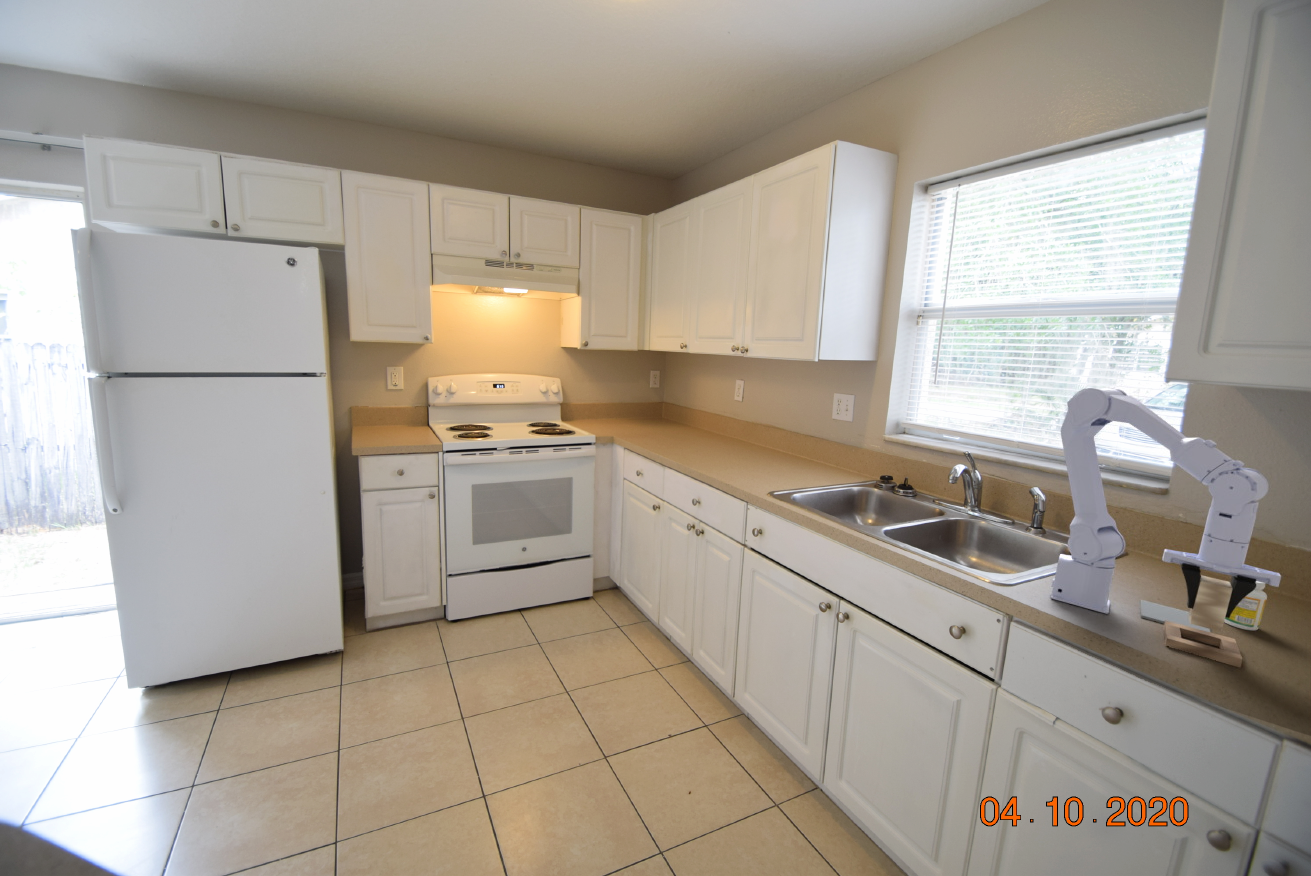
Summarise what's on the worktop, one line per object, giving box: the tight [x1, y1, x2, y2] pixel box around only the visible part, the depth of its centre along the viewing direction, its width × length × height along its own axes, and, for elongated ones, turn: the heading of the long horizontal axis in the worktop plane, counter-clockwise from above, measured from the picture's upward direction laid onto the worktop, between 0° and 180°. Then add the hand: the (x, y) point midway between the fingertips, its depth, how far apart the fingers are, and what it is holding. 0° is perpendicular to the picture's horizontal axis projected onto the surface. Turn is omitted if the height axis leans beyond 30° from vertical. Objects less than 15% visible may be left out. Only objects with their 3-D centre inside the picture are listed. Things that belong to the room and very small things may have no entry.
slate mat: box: [1139, 599, 1211, 632], centre depth 113 cm, size 10×10×1 cm
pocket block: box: [1162, 620, 1243, 668], centre depth 102 cm, size 10×10×2 cm
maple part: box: [1188, 574, 1233, 633], centre depth 101 cm, size 4×4×8 cm
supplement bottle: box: [1224, 581, 1268, 631], centre depth 111 cm, size 5×5×10 cm
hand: (1207, 610), depth 101 cm, fingers closed on maple part, 4 cm apart
